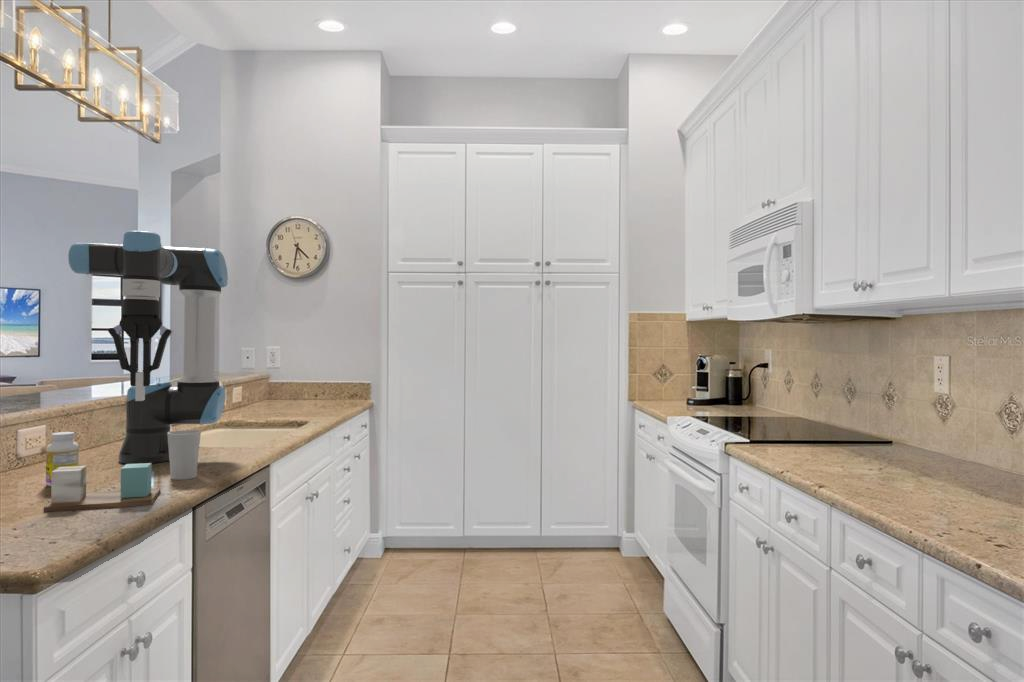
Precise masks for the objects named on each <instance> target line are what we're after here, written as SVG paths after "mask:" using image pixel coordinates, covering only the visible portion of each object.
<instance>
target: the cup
mask: <svg viewBox="0 0 1024 682" xmlns="http://www.w3.org/2000/svg"><path fill="white" fill-rule="evenodd" d="M201 432H202V430H196V429H183V430H179V429H178V430H172V431H171V430H170V432H168V433H167V434H168V447H169V472H170V473H169V479H170V480H180V481H181V480H188V479H189V480H190V479H194V478H197V477H198V463H199V450H200V444H201V443H200V442H201V435H202V433H201Z"/></svg>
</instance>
